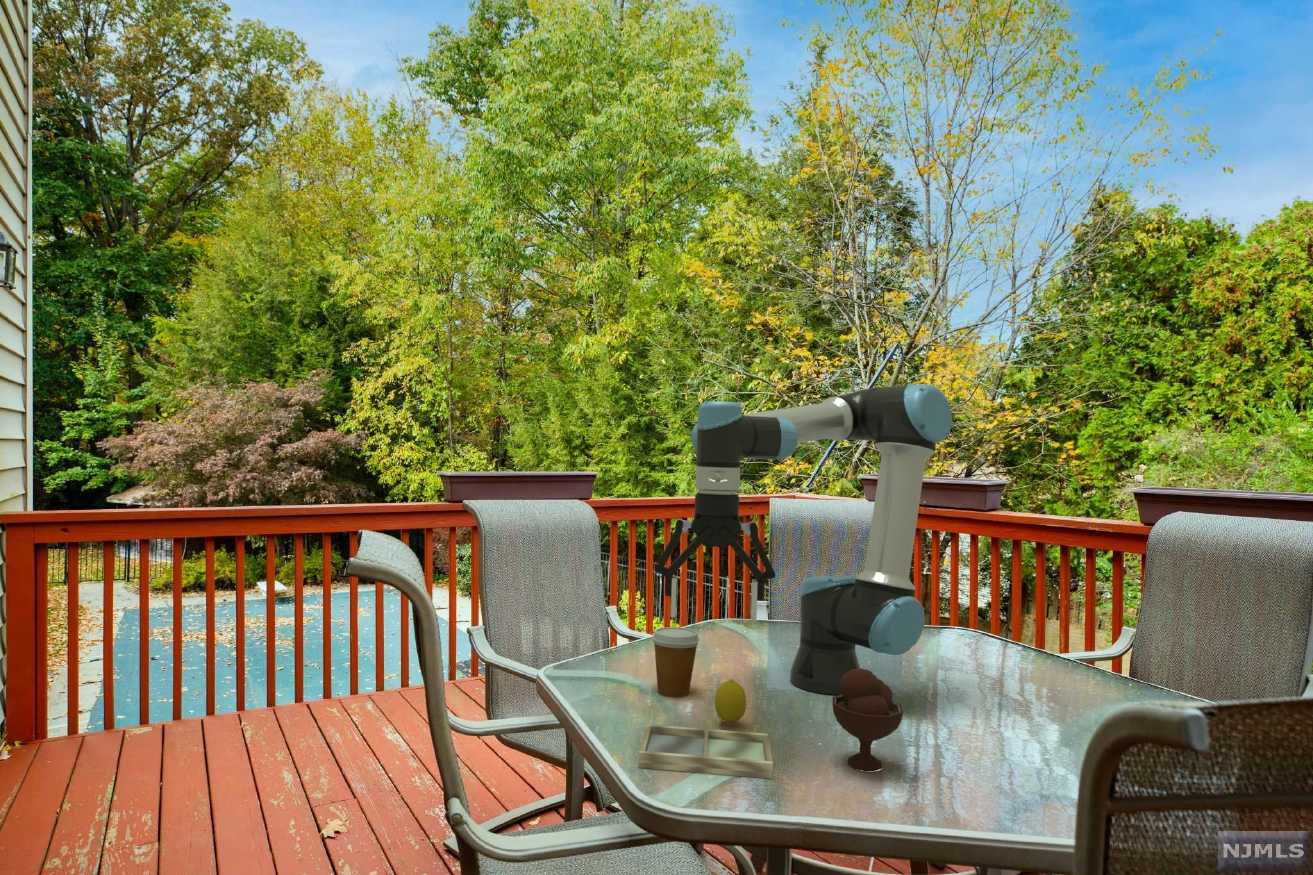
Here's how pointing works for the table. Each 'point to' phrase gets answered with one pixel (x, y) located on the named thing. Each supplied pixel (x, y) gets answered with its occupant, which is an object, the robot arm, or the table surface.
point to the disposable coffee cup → (674, 659)
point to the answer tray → (706, 751)
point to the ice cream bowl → (866, 714)
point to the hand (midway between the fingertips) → (713, 617)
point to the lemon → (730, 701)
